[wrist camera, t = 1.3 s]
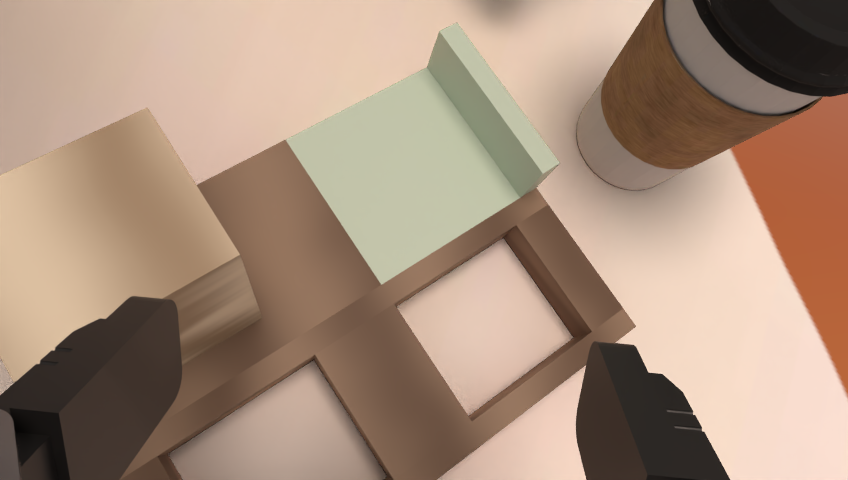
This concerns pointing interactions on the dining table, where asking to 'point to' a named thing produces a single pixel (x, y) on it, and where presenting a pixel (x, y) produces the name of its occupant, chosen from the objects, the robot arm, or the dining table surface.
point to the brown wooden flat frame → (368, 323)
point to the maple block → (113, 244)
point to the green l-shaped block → (424, 157)
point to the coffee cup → (709, 82)
